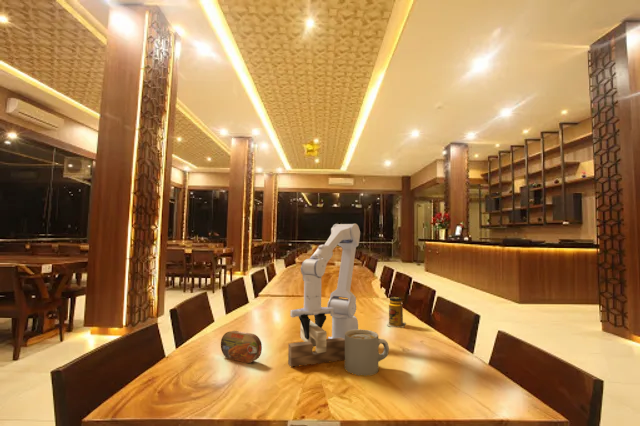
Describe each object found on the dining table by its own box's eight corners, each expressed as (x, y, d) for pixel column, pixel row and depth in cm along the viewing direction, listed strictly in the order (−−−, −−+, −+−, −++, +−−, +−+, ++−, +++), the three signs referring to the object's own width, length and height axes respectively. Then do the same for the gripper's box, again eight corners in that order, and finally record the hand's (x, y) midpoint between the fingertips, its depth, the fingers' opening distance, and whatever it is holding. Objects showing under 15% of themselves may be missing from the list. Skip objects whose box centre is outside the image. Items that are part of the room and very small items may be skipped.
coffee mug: (346, 375, 91) (346, 339, 92) (343, 361, 101) (343, 329, 102) (393, 376, 91) (393, 339, 92) (386, 362, 101) (386, 329, 102)
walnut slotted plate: (341, 356, 106) (341, 337, 106) (345, 359, 103) (345, 340, 103) (288, 363, 99) (288, 343, 100) (291, 367, 96) (291, 346, 97)
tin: (219, 356, 104) (220, 329, 105) (226, 353, 107) (227, 327, 108) (256, 366, 97) (257, 337, 98) (263, 362, 100) (263, 334, 101)
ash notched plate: (308, 336, 113) (308, 319, 114) (326, 351, 99) (326, 331, 99) (300, 337, 112) (300, 319, 113) (317, 353, 97) (317, 332, 98)
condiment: (386, 326, 142) (386, 298, 143) (389, 321, 150) (389, 295, 151) (403, 328, 140) (403, 299, 141) (405, 323, 148) (405, 296, 149)
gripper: (295, 299, 101) (294, 343, 100) (337, 296, 106) (337, 339, 105) (288, 295, 107) (288, 337, 106) (329, 292, 113) (328, 332, 112)
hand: (312, 337), depth 106 cm, fingers closed on ash notched plate, 3 cm apart
